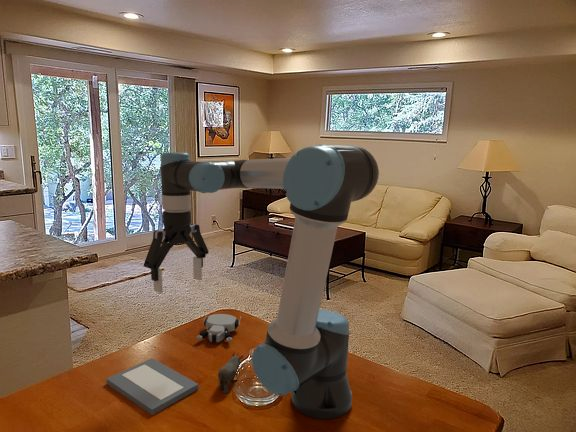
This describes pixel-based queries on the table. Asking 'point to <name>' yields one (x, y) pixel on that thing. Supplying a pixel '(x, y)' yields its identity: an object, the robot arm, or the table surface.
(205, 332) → the robot toy
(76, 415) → the table surface
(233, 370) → the rhino figurine
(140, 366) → the display plate
